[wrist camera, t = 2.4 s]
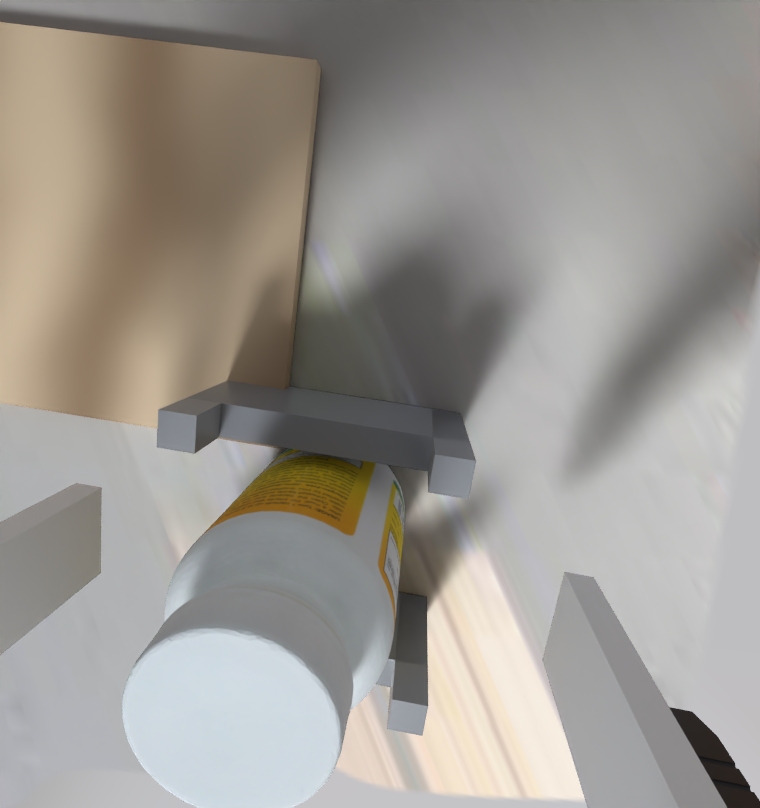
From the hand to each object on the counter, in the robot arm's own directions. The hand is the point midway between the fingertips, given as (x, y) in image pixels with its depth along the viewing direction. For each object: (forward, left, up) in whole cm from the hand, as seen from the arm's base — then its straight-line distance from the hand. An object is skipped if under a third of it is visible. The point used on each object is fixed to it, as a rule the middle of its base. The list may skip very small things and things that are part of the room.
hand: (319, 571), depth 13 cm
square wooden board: (-8, +8, -4) cm, 12 cm away
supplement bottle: (0, 0, -5) cm, 5 cm away
